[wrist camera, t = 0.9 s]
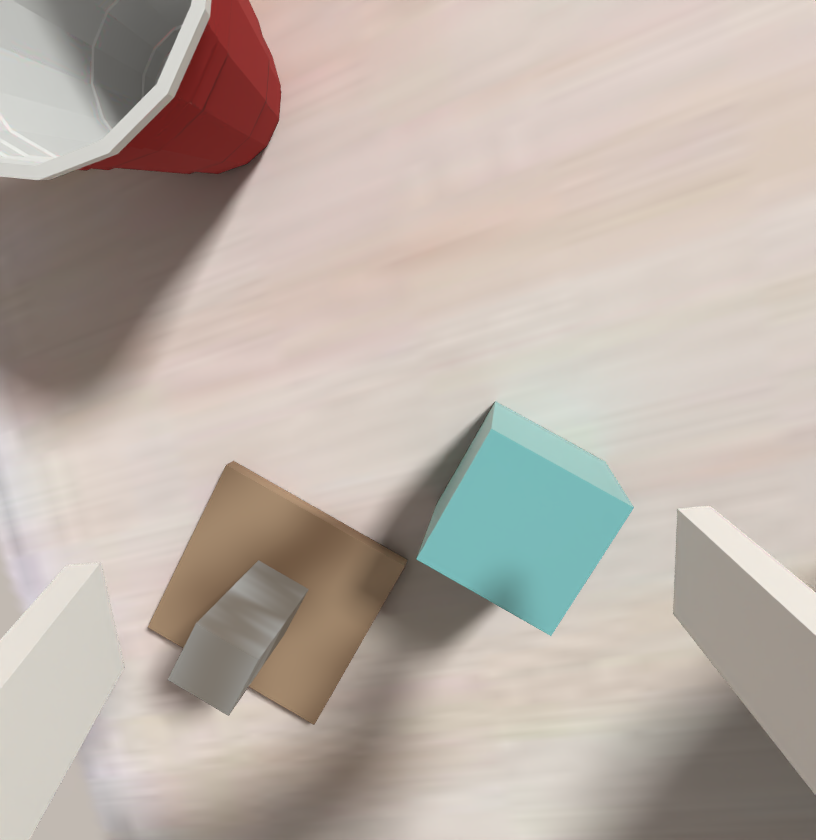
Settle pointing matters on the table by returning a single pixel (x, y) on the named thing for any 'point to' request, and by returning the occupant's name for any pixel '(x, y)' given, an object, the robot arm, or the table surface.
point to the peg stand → (271, 597)
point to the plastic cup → (133, 86)
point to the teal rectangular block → (524, 519)
